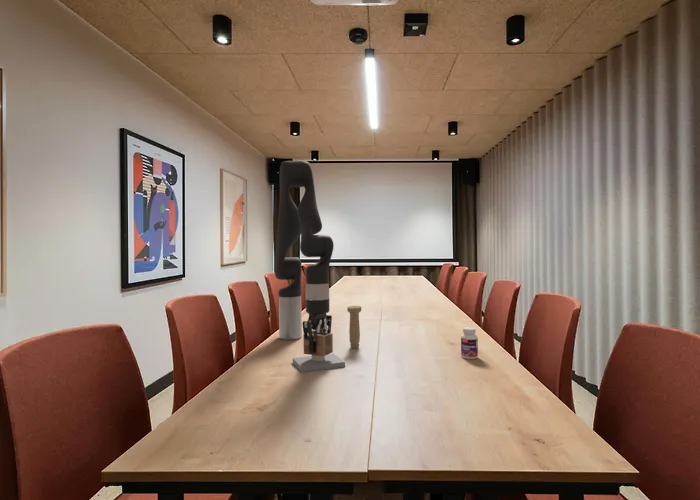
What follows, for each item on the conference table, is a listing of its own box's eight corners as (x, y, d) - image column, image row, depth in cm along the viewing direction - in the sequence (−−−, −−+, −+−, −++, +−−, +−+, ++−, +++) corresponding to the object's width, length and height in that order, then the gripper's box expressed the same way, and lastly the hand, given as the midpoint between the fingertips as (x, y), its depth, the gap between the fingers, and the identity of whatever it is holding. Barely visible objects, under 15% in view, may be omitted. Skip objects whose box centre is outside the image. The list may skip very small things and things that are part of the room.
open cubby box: (303, 353, 129) (303, 333, 129) (313, 349, 134) (313, 330, 134) (323, 356, 126) (323, 336, 126) (332, 352, 131) (332, 332, 131)
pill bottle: (460, 358, 135) (459, 329, 135) (462, 354, 140) (461, 326, 140) (477, 360, 133) (476, 330, 133) (478, 355, 138) (478, 327, 138)
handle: (363, 345, 154) (363, 306, 153) (357, 350, 148) (357, 308, 148) (352, 344, 156) (351, 305, 155) (345, 348, 150) (344, 308, 149)
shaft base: (292, 362, 133) (292, 333, 133) (333, 357, 138) (333, 329, 138) (301, 372, 122) (301, 340, 122) (345, 366, 128) (344, 336, 128)
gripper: (319, 294, 138) (320, 344, 138) (294, 299, 125) (295, 354, 125) (338, 295, 134) (339, 346, 135) (315, 301, 122) (315, 357, 122)
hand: (318, 350), depth 130 cm, fingers closed on open cubby box, 5 cm apart
